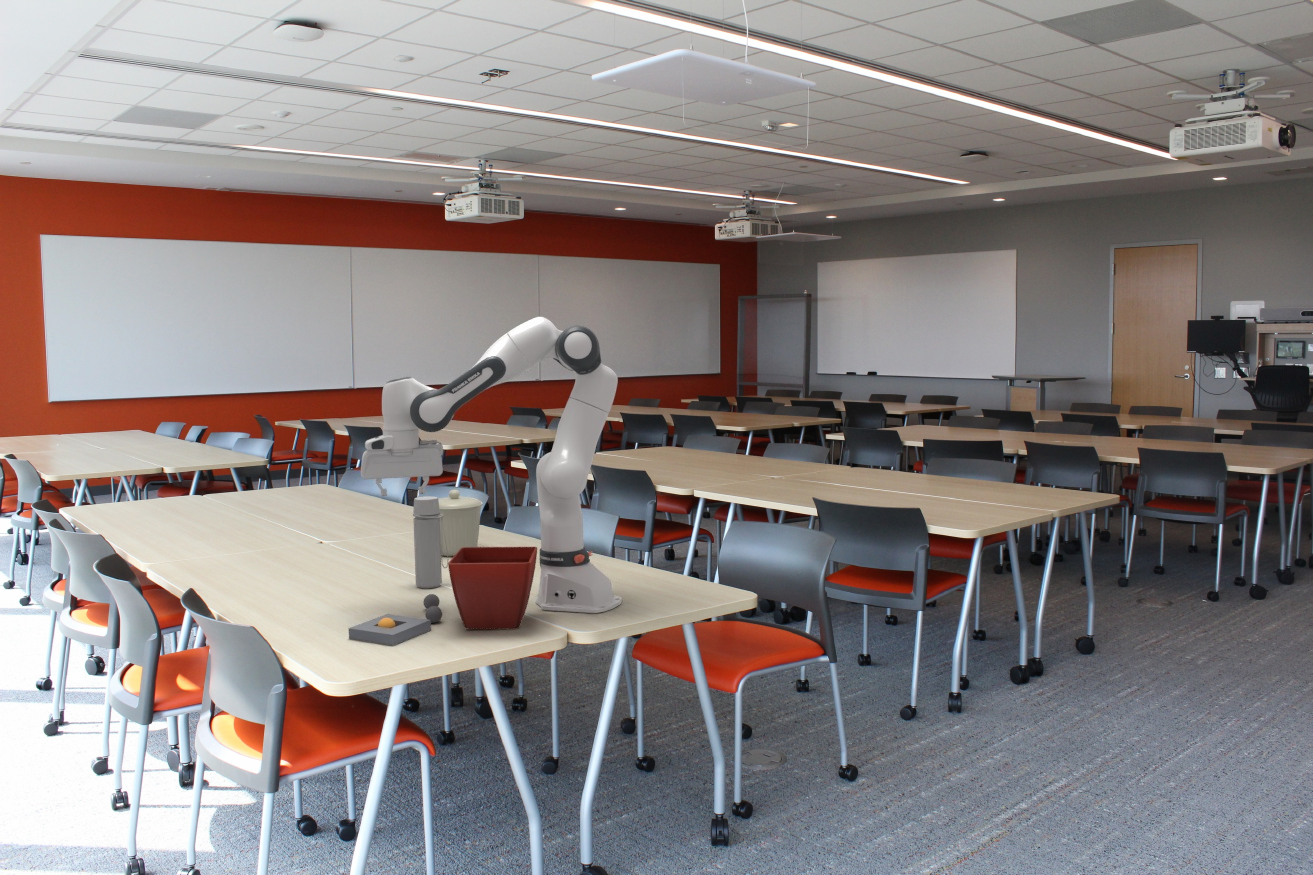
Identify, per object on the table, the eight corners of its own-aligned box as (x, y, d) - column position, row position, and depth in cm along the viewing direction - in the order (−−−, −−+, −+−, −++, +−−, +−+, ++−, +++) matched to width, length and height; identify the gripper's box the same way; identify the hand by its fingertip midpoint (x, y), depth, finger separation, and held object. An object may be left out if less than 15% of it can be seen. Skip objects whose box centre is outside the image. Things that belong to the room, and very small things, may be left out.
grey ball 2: (445, 621, 229) (445, 605, 229) (435, 625, 226) (434, 609, 225) (432, 619, 231) (432, 603, 231) (422, 623, 228) (421, 607, 227)
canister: (489, 556, 303) (487, 491, 301) (432, 561, 296) (430, 495, 294) (478, 545, 320) (476, 484, 318) (424, 550, 313) (422, 487, 311)
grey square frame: (430, 630, 222) (430, 619, 222) (393, 645, 210) (392, 634, 210) (388, 623, 228) (387, 613, 227) (349, 638, 216) (348, 628, 216)
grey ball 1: (443, 608, 241) (442, 593, 241) (432, 612, 237) (432, 596, 237) (430, 606, 243) (430, 591, 242) (420, 610, 239) (419, 595, 239)
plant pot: (539, 611, 238) (537, 545, 236) (532, 633, 219) (530, 562, 217) (463, 612, 237) (461, 546, 236) (449, 635, 218) (446, 563, 216)
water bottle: (415, 590, 260) (412, 500, 258) (415, 583, 267) (412, 496, 265) (449, 587, 262) (446, 499, 260) (448, 581, 270) (445, 495, 268)
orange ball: (401, 627, 220) (393, 612, 219) (391, 637, 216) (383, 622, 215) (389, 629, 222) (381, 615, 221) (379, 639, 218) (371, 625, 217)
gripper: (441, 438, 246) (442, 490, 247) (359, 441, 239) (361, 495, 241) (444, 440, 240) (445, 494, 241) (360, 443, 233) (362, 499, 235)
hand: (402, 494), depth 241 cm, fingers open, 8 cm apart
